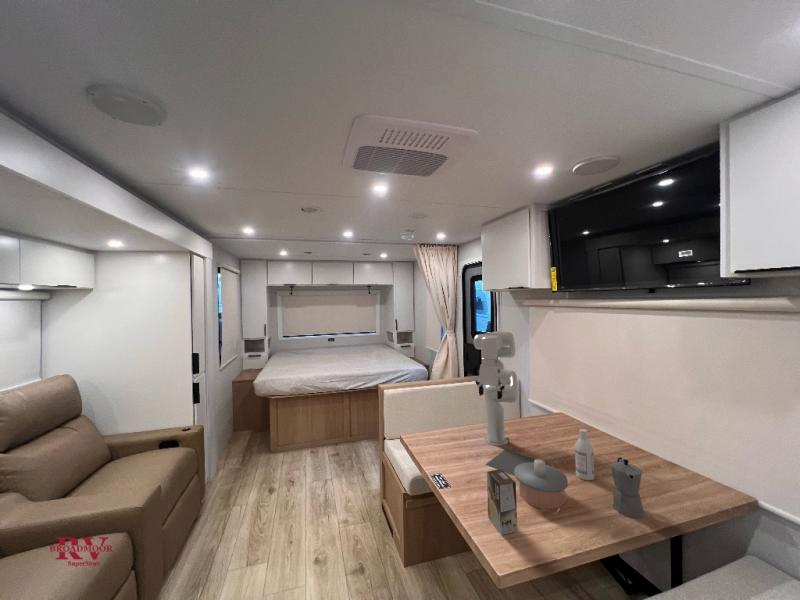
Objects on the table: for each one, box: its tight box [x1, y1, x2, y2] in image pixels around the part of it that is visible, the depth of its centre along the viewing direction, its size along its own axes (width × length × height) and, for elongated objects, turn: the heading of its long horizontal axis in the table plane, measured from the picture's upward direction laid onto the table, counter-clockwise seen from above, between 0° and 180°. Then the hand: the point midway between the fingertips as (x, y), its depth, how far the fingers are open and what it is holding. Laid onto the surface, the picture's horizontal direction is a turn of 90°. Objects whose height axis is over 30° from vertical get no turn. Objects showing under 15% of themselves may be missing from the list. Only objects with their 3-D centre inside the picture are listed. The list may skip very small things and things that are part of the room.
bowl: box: [517, 480, 566, 510], centre depth 120 cm, size 16×16×7 cm
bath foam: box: [574, 428, 595, 481], centre depth 133 cm, size 7×7×20 cm
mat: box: [485, 449, 548, 477], centre depth 144 cm, size 21×21×1 cm
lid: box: [514, 458, 569, 492], centre depth 120 cm, size 19×19×6 cm
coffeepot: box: [610, 457, 644, 519], centre depth 112 cm, size 15×9×18 cm, turn 159°
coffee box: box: [486, 469, 518, 536], centre depth 105 cm, size 9×6×16 cm
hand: (490, 396), depth 150 cm, fingers open, 9 cm apart
